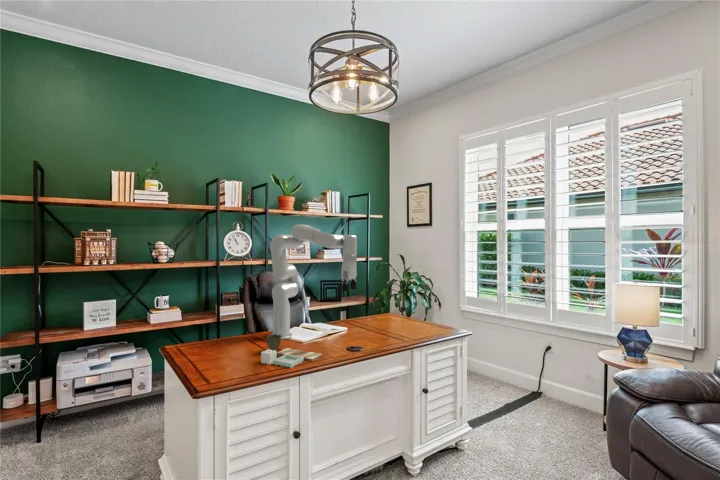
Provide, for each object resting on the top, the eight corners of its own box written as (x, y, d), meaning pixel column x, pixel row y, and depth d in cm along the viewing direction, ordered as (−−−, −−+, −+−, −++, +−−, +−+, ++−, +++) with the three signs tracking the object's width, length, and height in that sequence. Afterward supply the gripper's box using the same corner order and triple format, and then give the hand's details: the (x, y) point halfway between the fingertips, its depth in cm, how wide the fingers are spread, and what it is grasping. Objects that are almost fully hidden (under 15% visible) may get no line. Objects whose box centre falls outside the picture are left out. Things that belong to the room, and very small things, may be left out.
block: (261, 362, 172) (261, 351, 172) (267, 359, 177) (268, 348, 177) (269, 364, 170) (269, 353, 170) (276, 361, 175) (276, 350, 175)
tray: (273, 364, 170) (273, 360, 170) (286, 358, 179) (286, 354, 179) (291, 368, 166) (291, 363, 166) (303, 361, 175) (303, 357, 175)
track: (276, 355, 183) (276, 352, 183) (287, 350, 192) (287, 347, 192) (312, 361, 175) (312, 359, 175) (322, 356, 183) (322, 353, 183)
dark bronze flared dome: (267, 349, 193) (267, 333, 193) (281, 348, 194) (282, 333, 194) (265, 353, 186) (265, 337, 185) (280, 353, 186) (280, 337, 186)
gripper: (350, 257, 206) (349, 287, 207) (335, 258, 191) (335, 291, 191) (362, 257, 203) (362, 288, 203) (348, 259, 187) (348, 292, 188)
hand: (349, 290), depth 197 cm, fingers open, 9 cm apart
